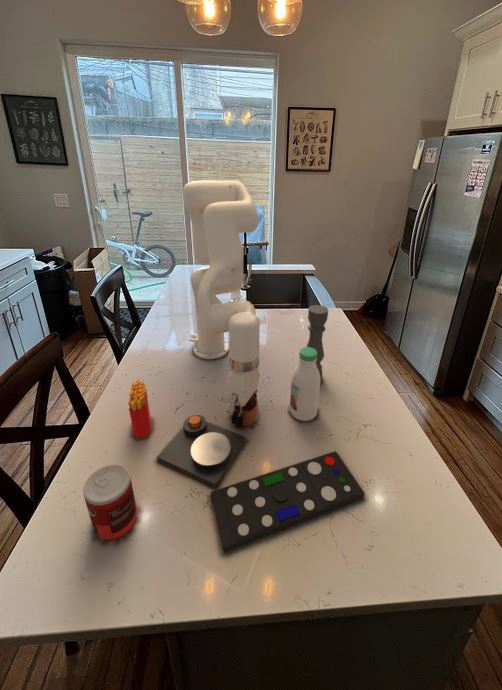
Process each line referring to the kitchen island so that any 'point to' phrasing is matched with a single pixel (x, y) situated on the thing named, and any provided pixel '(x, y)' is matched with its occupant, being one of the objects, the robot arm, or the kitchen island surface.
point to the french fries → (139, 410)
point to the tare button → (194, 421)
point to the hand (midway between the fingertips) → (244, 414)
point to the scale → (180, 452)
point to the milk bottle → (305, 386)
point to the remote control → (282, 499)
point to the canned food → (110, 502)
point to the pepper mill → (317, 332)
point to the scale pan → (210, 449)
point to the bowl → (249, 411)
